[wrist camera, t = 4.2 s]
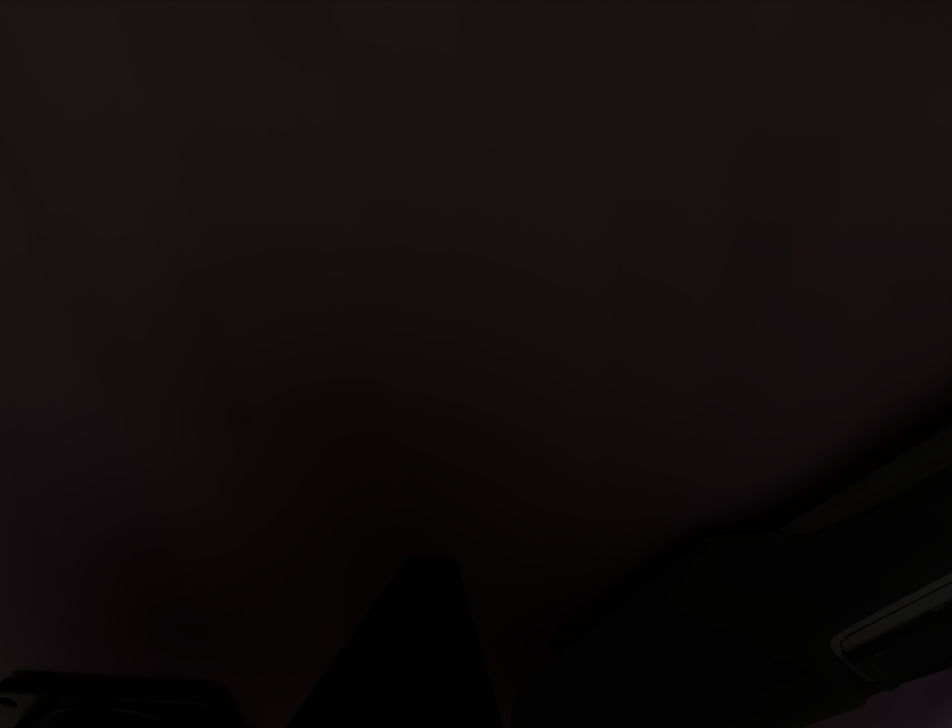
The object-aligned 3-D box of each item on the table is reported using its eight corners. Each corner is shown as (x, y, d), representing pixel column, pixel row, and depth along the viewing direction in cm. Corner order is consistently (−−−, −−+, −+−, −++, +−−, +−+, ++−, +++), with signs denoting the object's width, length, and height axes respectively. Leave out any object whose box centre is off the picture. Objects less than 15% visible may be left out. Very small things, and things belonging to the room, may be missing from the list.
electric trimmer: (470, 642, 12) (459, 800, 9) (1241, 162, 6) (1828, 199, 4) (569, 702, 13) (587, 861, 10) (1312, 339, 7) (1808, 476, 5)
